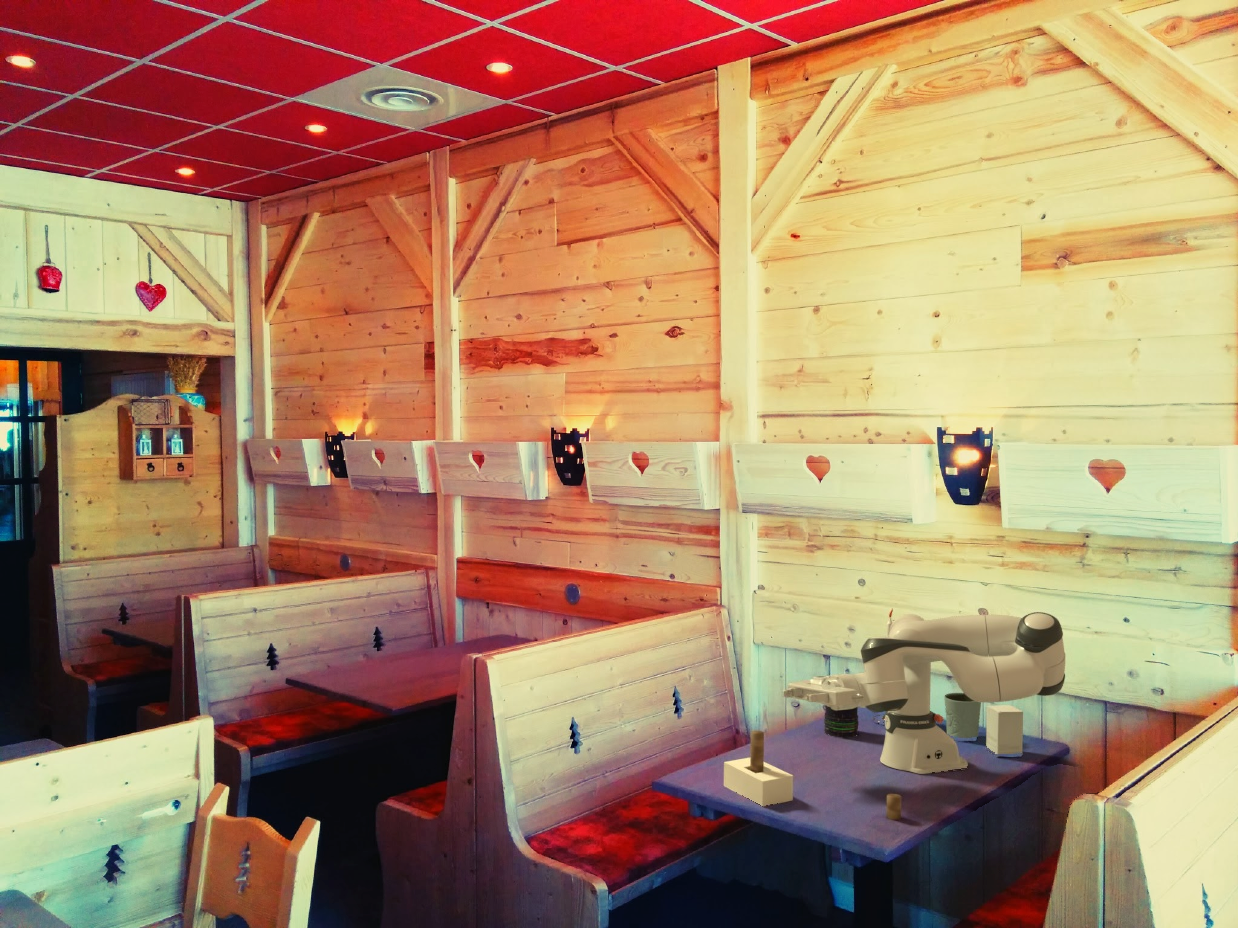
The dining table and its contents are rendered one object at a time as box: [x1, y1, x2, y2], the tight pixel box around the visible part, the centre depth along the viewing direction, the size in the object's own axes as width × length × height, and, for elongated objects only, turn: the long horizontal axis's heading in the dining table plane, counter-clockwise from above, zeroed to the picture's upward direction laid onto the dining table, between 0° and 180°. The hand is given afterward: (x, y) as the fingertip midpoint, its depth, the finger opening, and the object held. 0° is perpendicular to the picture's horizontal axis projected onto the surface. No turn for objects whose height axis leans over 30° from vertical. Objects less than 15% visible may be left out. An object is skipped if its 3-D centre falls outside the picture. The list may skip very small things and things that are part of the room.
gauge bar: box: [723, 757, 794, 807], centre depth 253 cm, size 9×16×6 cm, turn 29°
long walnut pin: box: [749, 730, 765, 773], centre depth 253 cm, size 3×3×15 cm
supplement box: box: [985, 704, 1024, 754], centre depth 286 cm, size 7×7×13 cm
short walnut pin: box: [886, 793, 902, 821], centre depth 238 cm, size 3×3×5 cm
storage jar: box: [823, 705, 859, 738], centre depth 304 cm, size 10×10×15 cm
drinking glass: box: [943, 692, 982, 738], centre depth 300 cm, size 10×10×12 cm
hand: (796, 695), depth 257 cm, fingers open, 8 cm apart
